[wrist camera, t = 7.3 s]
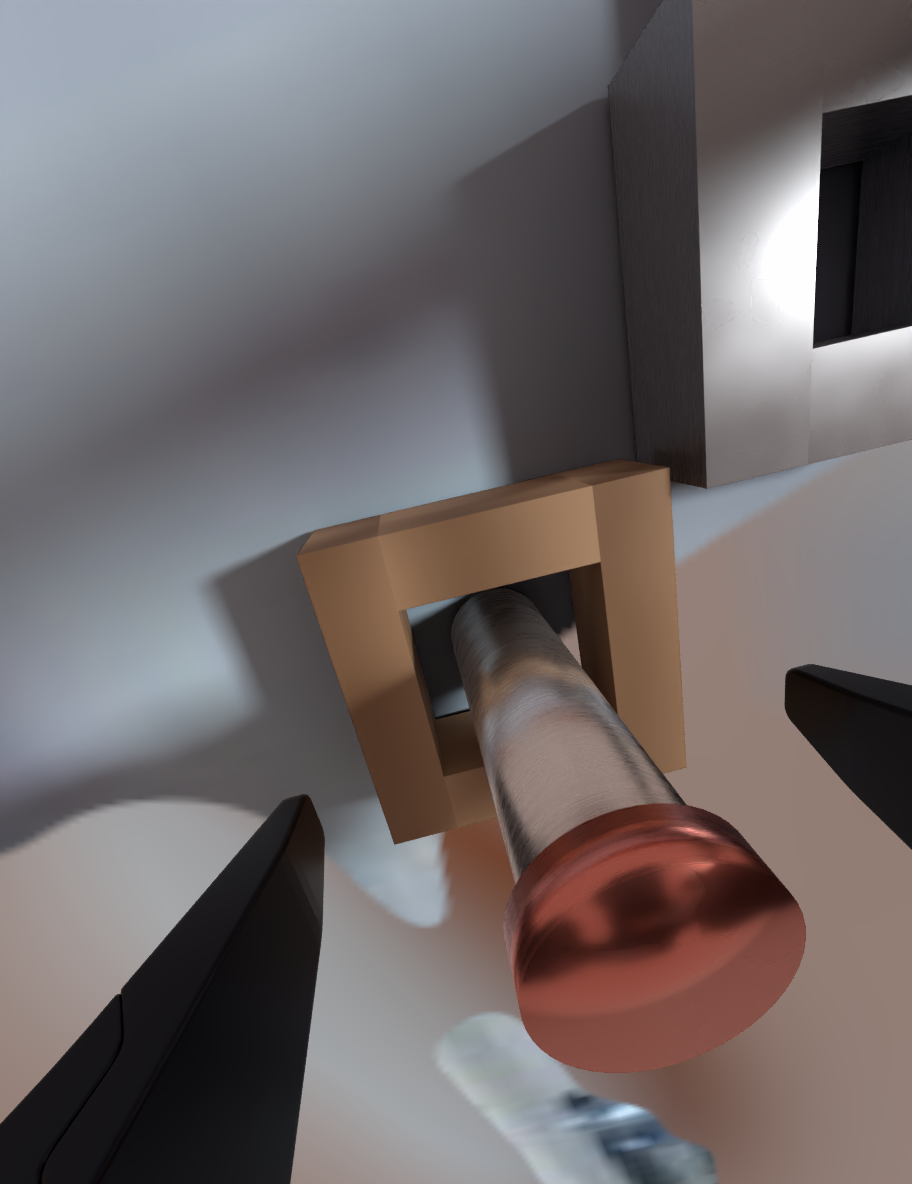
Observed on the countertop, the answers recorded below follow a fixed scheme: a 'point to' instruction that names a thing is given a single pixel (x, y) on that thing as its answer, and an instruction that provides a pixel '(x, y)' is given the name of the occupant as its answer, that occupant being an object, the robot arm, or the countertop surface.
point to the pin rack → (483, 561)
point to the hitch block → (762, 231)
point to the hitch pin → (612, 866)
